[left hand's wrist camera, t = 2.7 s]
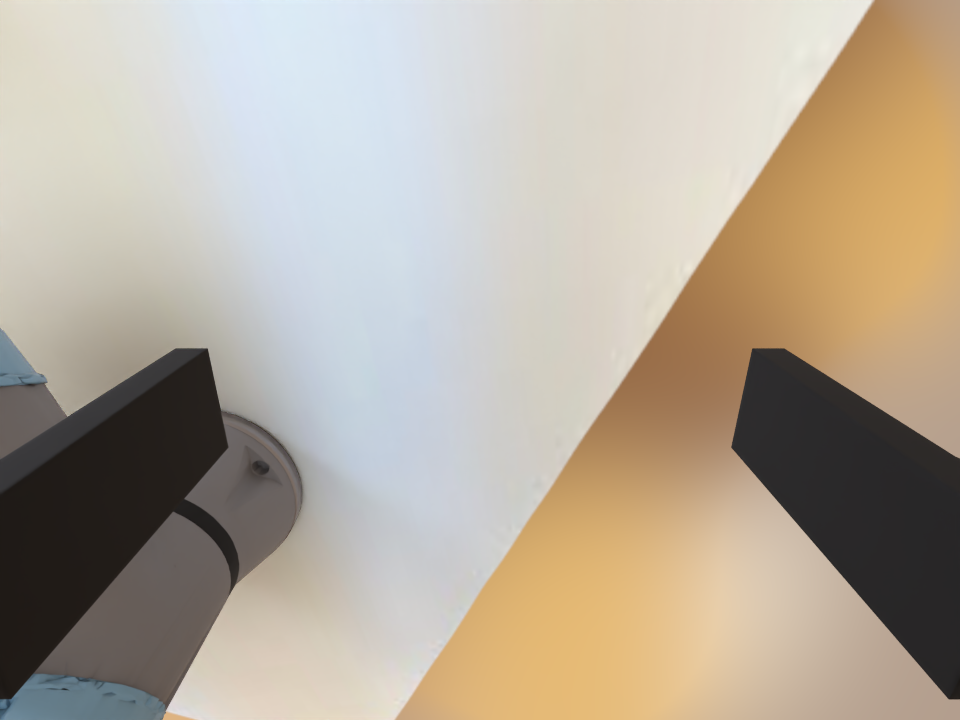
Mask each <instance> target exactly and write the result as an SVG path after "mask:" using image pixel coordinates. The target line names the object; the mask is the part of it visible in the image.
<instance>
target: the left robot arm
mask: <svg viewBox="0 0 960 720" xmlns="http://www.w3.org/2000/svg"><path fill="white" fill-rule="evenodd" d="M44 383H47V380H46V378H45V376H44V375H42V374H38V373H36V372H35V370H34V369H33V368H32V367H31V365H30V364H29V363H28V361H27V360H26V359H25V358H24V356H23V355H22V354H21V353H20V351H19V350H18V349H17V347H16V346H15V345H14V344H13V342H12V341H11V340H10V338H9V337H8V336H7V335H6V333H5V332H4V331H3V330H2V329H1V328H0V720H162V719H163V717H164V714H165V713H166V712H165V711H166V709H167V708H168V706H169V704H170V702H171V700H172V698H173V697H174V695H175V693H176V691H177V689H178V688H179V686H180V684H181V682H182V680H183V679H184V677H185V675H186V673H187V671H188V669H189V668H190V666H191V664H192V662H193V660H194V659H195V657H196V655H197V653H198V651H199V649H200V648H201V646H202V644H203V642H204V640H205V639H206V637H207V635H208V633H209V631H210V629H211V628H212V626H213V624H214V622H215V620H216V619H217V617H218V615H219V613H220V611H221V609H222V608H223V606H224V604H225V602H226V600H227V598H228V596H229V595H230V593H231V591H232V590H233V588H234V586H235V585H236V584H237V583H238V582H239V581H240V580H241V579H242V578H244V577H245V576H246V575H247V574H248V573H249V572H251V571H252V570H253V569H254V568H255V567H256V566H258V565H259V564H260V563H261V562H262V561H263V560H264V559H265V558H267V557H268V556H269V555H270V554H271V553H273V552H274V551H275V550H276V549H277V548H278V547H279V546H280V544H281V543H282V542H283V541H284V540H285V539H286V537H287V536H288V534H289V533H290V531H291V529H292V527H293V525H294V523H295V521H296V519H297V517H298V514H299V511H300V508H301V502H302V487H301V482H300V478H299V475H298V472H297V470H296V467H295V465H294V463H293V462H292V460H291V458H290V457H289V455H288V454H287V452H286V451H285V450H284V449H283V447H282V446H281V445H280V444H279V443H278V442H277V441H276V440H275V439H274V438H273V437H272V436H270V435H269V434H268V433H267V432H265V431H264V430H263V429H261V428H260V427H258V426H256V425H255V424H253V423H251V422H249V421H247V420H245V419H243V418H240V417H238V416H236V415H232V414H229V413H226V412H222V411H221V409H220V404H219V400H218V395H217V390H216V386H215V381H214V376H213V372H212V367H211V362H210V357H209V353H208V349H174V350H173V351H171V352H170V353H168V354H166V355H165V356H163V357H162V358H160V359H158V360H157V361H155V362H154V363H152V364H151V365H149V366H147V367H146V368H144V369H143V370H141V371H139V372H138V373H136V374H135V375H133V376H132V377H130V378H128V379H127V380H125V381H124V382H122V383H120V384H119V385H117V386H116V387H114V388H113V389H111V390H109V391H108V392H106V393H105V394H103V395H101V396H100V397H98V398H97V399H95V400H94V401H92V402H90V403H89V404H87V405H86V406H84V407H82V408H81V409H79V410H78V411H76V412H75V413H73V414H71V415H70V416H68V417H67V416H66V415H65V413H64V412H63V410H62V409H61V407H60V406H59V404H58V403H57V402H56V400H55V399H54V397H53V396H52V394H51V393H50V391H49V390H48V389H47V387H46V386H45V384H44ZM732 449H733V450H734V451H735V452H736V453H737V455H738V456H739V457H740V458H741V459H742V460H743V461H744V463H745V464H746V465H747V466H748V467H749V468H750V470H751V471H752V472H753V473H754V474H755V475H756V477H757V478H758V479H759V480H760V481H761V482H762V483H763V485H764V486H765V487H766V488H767V489H768V490H769V492H770V493H771V494H772V495H773V496H774V497H775V499H776V500H777V501H778V502H779V503H780V504H781V506H782V507H783V508H784V509H785V510H786V511H787V512H788V514H789V515H790V516H791V517H792V518H793V519H794V521H795V522H796V523H797V524H798V525H799V526H800V527H801V529H802V530H803V531H804V532H805V533H806V534H807V536H808V537H809V538H810V539H811V540H812V541H813V543H814V544H815V545H816V546H817V547H818V548H819V550H820V551H821V552H822V553H823V554H824V555H825V556H826V558H827V559H828V560H829V561H830V562H831V563H832V565H833V566H834V567H835V568H836V569H837V570H838V572H839V573H840V574H841V575H842V576H843V577H844V578H845V580H846V581H847V582H848V583H849V584H850V585H851V587H852V588H853V589H854V590H855V591H856V592H857V594H858V595H859V596H860V597H861V598H862V599H863V600H864V602H865V603H866V604H867V605H868V606H869V607H870V609H871V610H872V611H873V612H874V613H875V614H876V616H877V617H878V618H879V619H880V620H881V621H882V622H883V624H884V625H885V626H886V627H887V628H888V629H889V631H890V632H891V633H892V634H893V635H894V636H895V637H896V639H897V640H898V641H899V642H900V643H901V644H902V646H903V647H904V648H905V649H906V650H907V651H908V653H909V654H910V655H911V656H912V657H913V658H914V659H915V661H916V662H917V663H918V664H919V665H920V666H921V668H922V669H923V670H924V671H925V672H926V673H927V675H928V676H929V677H930V678H931V679H932V680H933V682H934V683H935V684H936V685H937V686H938V687H939V688H940V690H941V691H942V692H943V693H944V694H945V695H946V697H947V698H948V699H960V458H957V457H955V456H953V455H952V454H950V453H949V452H947V451H946V450H944V449H942V448H941V447H939V446H938V445H936V444H934V443H933V442H931V441H930V440H928V439H926V438H925V437H923V436H922V435H920V434H919V433H917V432H915V431H914V430H912V429H911V428H909V427H908V426H906V425H904V424H903V423H901V422H900V421H898V420H897V419H895V418H893V417H892V416H890V415H889V414H887V413H885V412H884V411H882V410H881V409H879V408H878V407H876V406H874V405H873V404H871V403H870V402H868V401H866V400H865V399H863V398H862V397H860V396H859V395H857V394H855V393H854V392H852V391H851V390H849V389H847V388H846V387H844V386H843V385H841V384H839V383H838V382H836V381H835V380H833V379H832V378H830V377H828V376H827V375H825V374H824V373H822V372H821V371H819V370H817V369H816V368H814V367H813V366H811V365H809V364H808V363H806V362H805V361H803V360H802V359H800V358H798V357H797V356H795V355H794V354H792V353H790V352H789V351H787V350H786V349H752V353H751V358H750V362H749V367H748V372H747V376H746V381H745V386H744V390H743V395H742V400H741V405H740V409H739V414H738V419H737V423H736V428H735V433H734V437H733V442H732Z"/></svg>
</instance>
